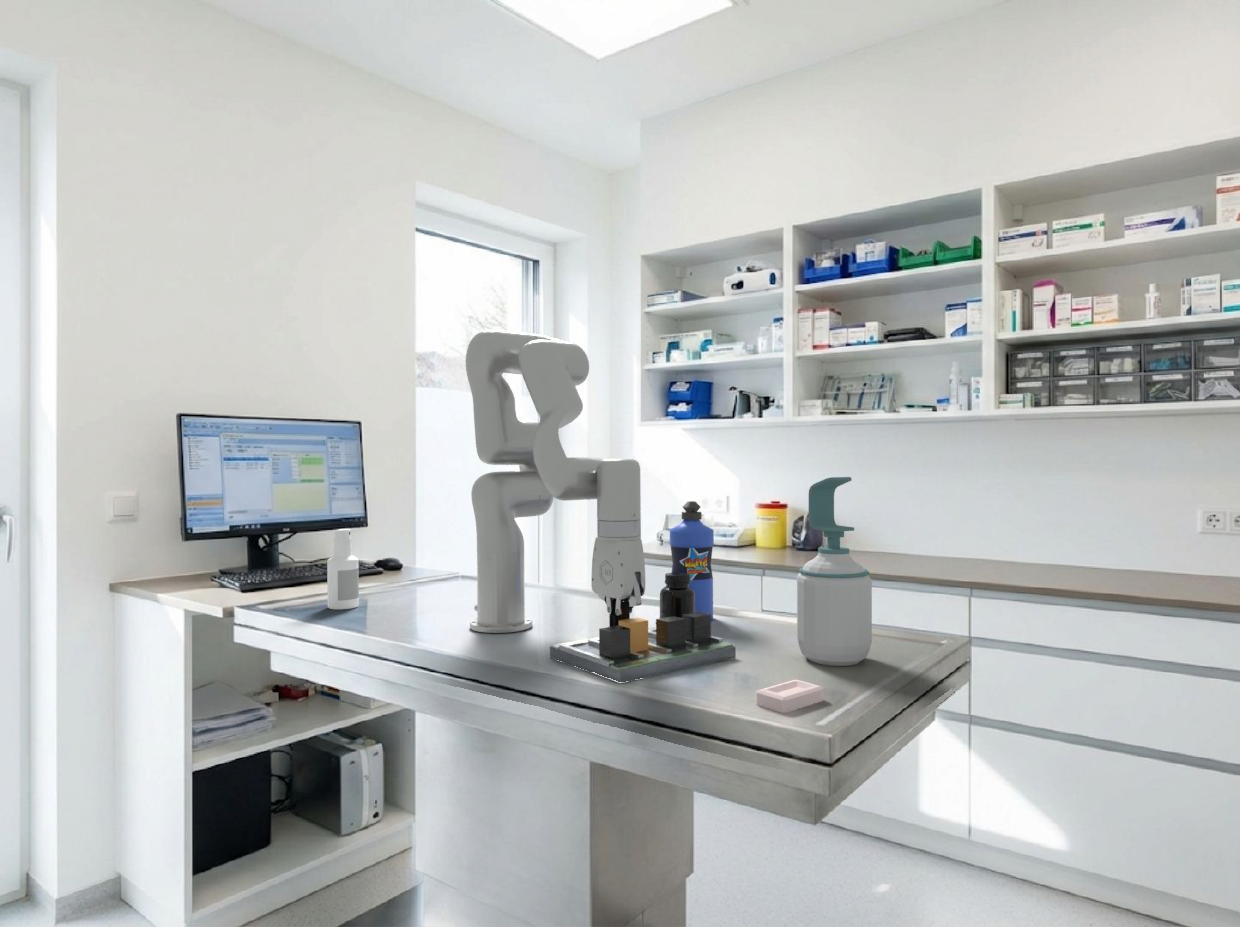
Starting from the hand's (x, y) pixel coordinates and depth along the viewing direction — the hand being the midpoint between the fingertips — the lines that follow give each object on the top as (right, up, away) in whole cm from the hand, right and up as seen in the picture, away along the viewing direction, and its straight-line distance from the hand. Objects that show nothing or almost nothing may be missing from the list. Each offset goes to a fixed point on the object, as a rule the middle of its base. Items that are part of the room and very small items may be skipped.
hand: (619, 636), depth 139 cm
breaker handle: (+2, -2, -3) cm, 4 cm away
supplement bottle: (+11, -4, +17) cm, 20 cm away
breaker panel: (+4, -4, 0) cm, 5 cm away
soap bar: (+24, -5, -25) cm, 35 cm away
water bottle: (+15, -4, +33) cm, 36 cm away
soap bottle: (+37, -4, -2) cm, 37 cm away
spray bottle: (-64, -4, +47) cm, 80 cm away
